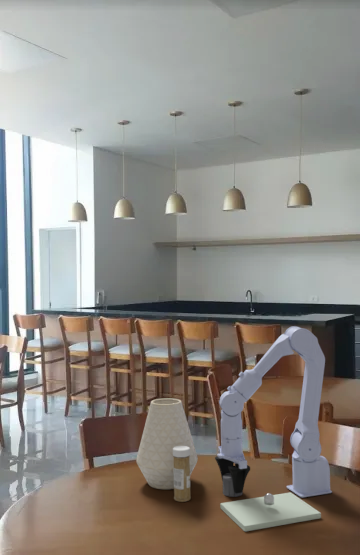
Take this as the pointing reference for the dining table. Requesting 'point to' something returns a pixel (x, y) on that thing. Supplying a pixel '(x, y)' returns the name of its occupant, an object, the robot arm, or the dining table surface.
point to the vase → (164, 442)
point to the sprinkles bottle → (181, 473)
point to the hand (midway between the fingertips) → (232, 487)
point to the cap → (229, 486)
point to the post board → (269, 511)
